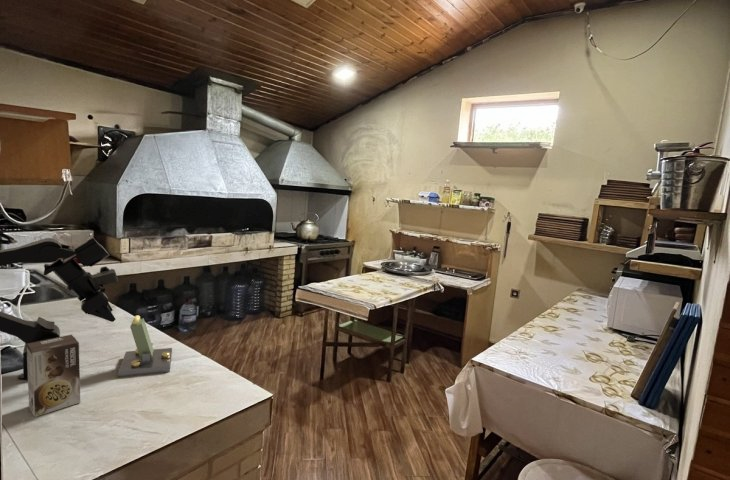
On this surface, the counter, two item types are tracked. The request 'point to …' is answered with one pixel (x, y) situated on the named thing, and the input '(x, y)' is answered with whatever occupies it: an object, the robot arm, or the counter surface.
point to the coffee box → (53, 374)
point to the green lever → (141, 336)
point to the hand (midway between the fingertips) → (112, 315)
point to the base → (146, 362)
